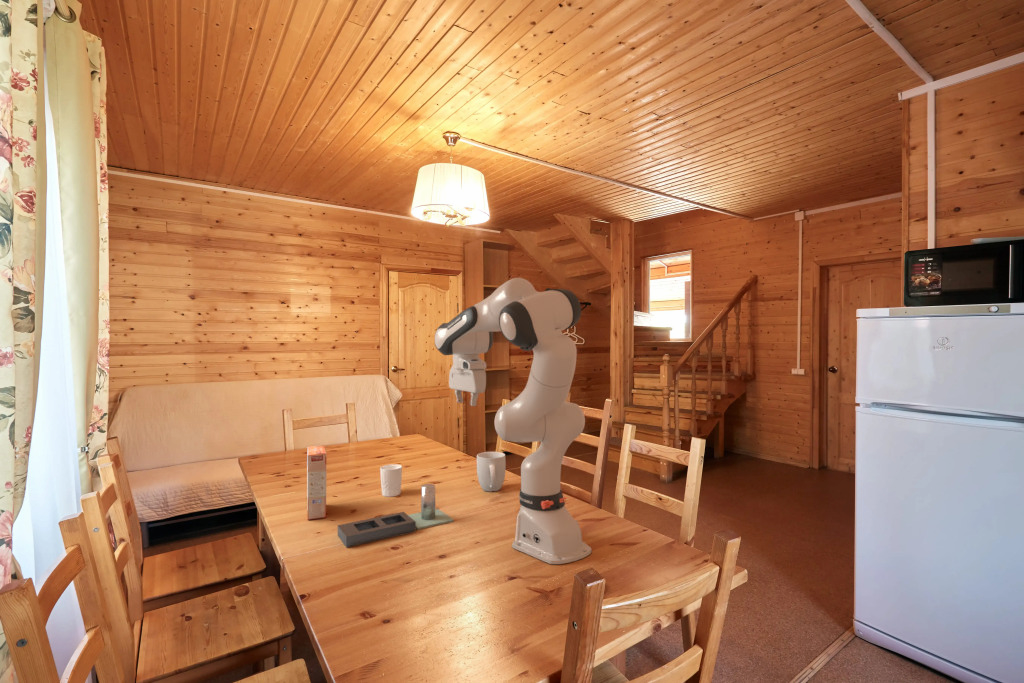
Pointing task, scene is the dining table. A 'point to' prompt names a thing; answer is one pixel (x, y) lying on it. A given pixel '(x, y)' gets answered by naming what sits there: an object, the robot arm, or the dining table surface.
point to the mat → (438, 520)
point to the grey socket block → (375, 529)
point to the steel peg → (428, 501)
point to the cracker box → (316, 482)
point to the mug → (491, 470)
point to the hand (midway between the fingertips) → (466, 404)
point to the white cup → (391, 479)
